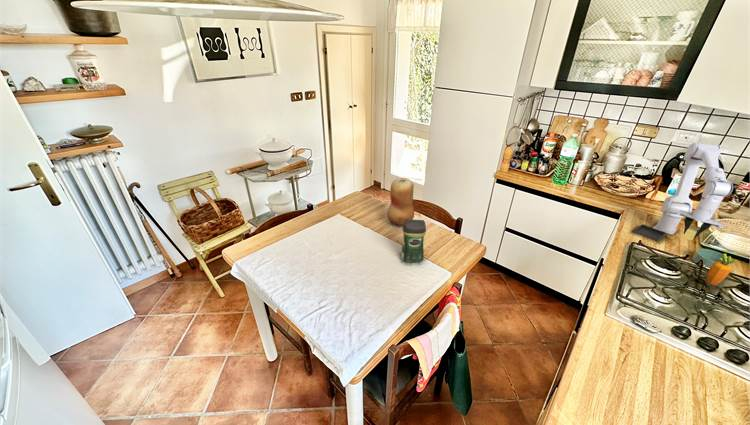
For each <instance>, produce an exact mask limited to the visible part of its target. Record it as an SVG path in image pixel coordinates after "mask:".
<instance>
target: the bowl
mask: <svg viewBox="0 0 750 425" xmlns="http://www.w3.org/2000/svg"><path fill="white" fill-rule="evenodd" d="M723 254H724V253H721V252H718V251H715V250H712V249H709V248H698V249H696V250H695V252H694V253H693V255H692V256H691V261H693V263H695V264H696V263H697V262H699V260H701V259H702V260H703V264H704V265H705V266H708V267H711V266H712V264H713V263H714V262H718V261H721V260H720V258H722V259H723ZM727 260H728V256H727ZM732 260H733V259H731V261H732ZM729 265H730V266H731V267H732V265H733V263H731V264H729Z"/></svg>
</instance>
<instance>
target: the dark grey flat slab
mask: <svg viewBox="0 0 750 425" xmlns="http://www.w3.org/2000/svg"><path fill="white" fill-rule="evenodd" d="M632 233H633V234H635V235H638V236H641V237H643V238H646V239H649V240H651V241H654V242H656V243H659V242H660V241H661V240H662V239H663V238H664V237H665V236H666V235H667V233H666V232H663V231H660V230H657V229H654V228H653V227H651V226H648V225H646V224H643V223H641V224H640V225H639V226H638V227H636V228H635V229H634V230H633V231H632Z"/></svg>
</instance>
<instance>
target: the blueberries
mask: <svg viewBox="0 0 750 425" xmlns="http://www.w3.org/2000/svg"><path fill="white" fill-rule="evenodd" d="M632 317H633V320H634V321H636V322H638V323H641V322H640V321H638V320H637V319H639V320H641V321H642V322H643V323H645V322H644V321H646V323H647V324H650V323H652V321H651V320H649V319H648V318H645V317H644V316H642V315H638V314H637V315H633V316H632ZM647 321H649V322H647ZM646 323H645V324H646ZM652 324H653V326H652V327H654V326H656V327H654V328H658V329H660V326H659V325H657V324H655V323H652Z"/></svg>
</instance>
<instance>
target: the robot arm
mask: <svg viewBox="0 0 750 425" xmlns="http://www.w3.org/2000/svg"><path fill="white" fill-rule="evenodd" d="M722 151H723V147H722V146H721V144H710V143H698V142H692V143H691V144H689V145H688V147H687V148H686V150H685V153H684V156H683V160H684V161H685V164H684V167H683V170H682V173H681V176H680V179H679V181H678V184H677V187H676V190H675V192H674V194H673V195H669V196H667V197H665V199H664V201H663V203H662V204H661V206H660V210H661V211H662V214H661V216H660V218H659V219H658V222H657V223H656V224H655V225H654V226H653V227H652V228H654V229H657V230H660V231H663V232H666V234H669V235H673V236H674V234H675V233H676V232H677V231H678V230H679V229H678V228H677V227H678V226H679V223H681V221H682V219H683V222H684V230H683V232H682V234H683V235H684V234H685V232H686V231H687V229H688V228H689V227H691V226H692V224H693V222H694V221H696V222H699V223H702V224H701V225H700V227H699V228H700V229H699V230H698V232H697V233H696V235H695V236H694V238H695V239H696V238H697V237H698V236H699V235H700V234H702V233H703V232H704V231H706V230H708V229H710V228H711V227H715V228H717V229H718V230H719V229H720V230H721V229H722V228H723V227H724V225H725V223H724V222H720V221H718V220H715V219H714V218H712V217H713V215H714V214H715V212H716V211H717V209H718V207H719V206H720V204H721V203H722V201H723V200H724V198H725V197H729V196H730V195H731V194H732V192H733V190H734V184H733V183H732V182H730V181H729V180H727V177H726V174H725V170H724V169H723V168H722V167H720V164H719V163H720V162H719V157H720V155H721V154H722ZM702 164H704V167H705V171H704V173H703V175H704V180H705V183H706V184H705V185H704V187H703V192H702V193H701V198H700V200H699V202H698V203H697V205H696V207H695V209H694V210H693V206H694V201H693V200H692V199H691V198H690V197H689V196H690V195H691V192H692V188H693V186H694V183H695V180H696V178H697V174H698V172H699V169H700V167H701V165H702ZM694 238H693V239H694Z"/></svg>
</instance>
